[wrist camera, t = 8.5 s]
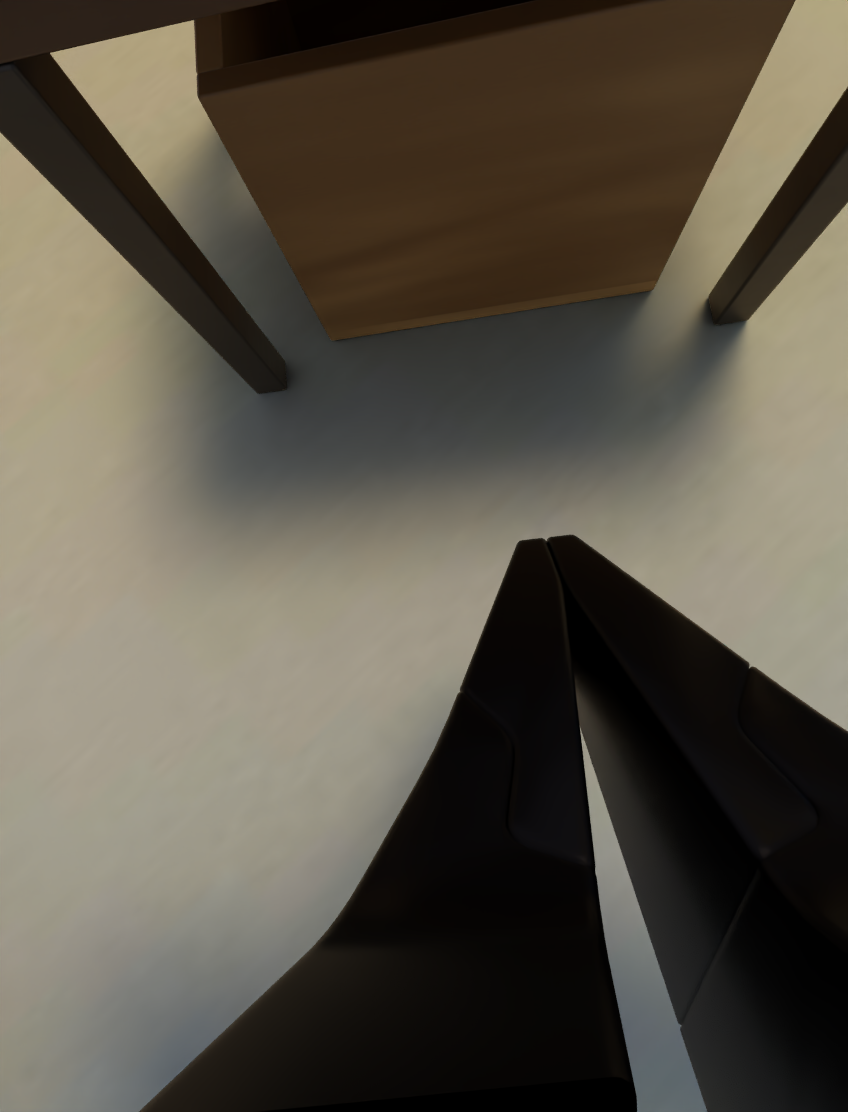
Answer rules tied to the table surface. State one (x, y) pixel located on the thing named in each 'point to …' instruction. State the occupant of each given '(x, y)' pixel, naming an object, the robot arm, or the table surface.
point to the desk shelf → (178, 264)
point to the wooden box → (477, 143)
